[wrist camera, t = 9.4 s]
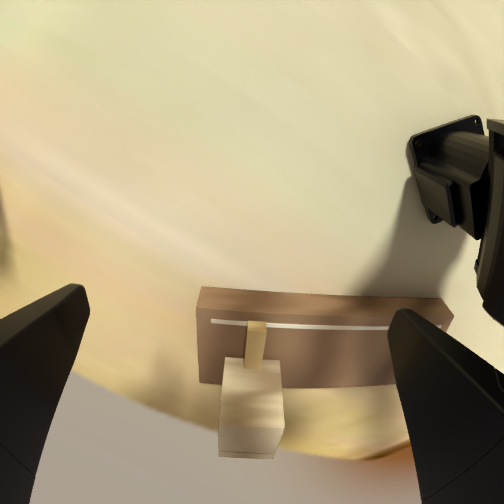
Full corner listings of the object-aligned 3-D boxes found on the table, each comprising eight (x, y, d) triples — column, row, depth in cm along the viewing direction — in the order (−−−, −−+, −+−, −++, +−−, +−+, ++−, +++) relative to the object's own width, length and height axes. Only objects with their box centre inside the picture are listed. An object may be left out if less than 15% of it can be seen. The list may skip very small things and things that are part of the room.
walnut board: (441, 298, 23) (454, 316, 20) (409, 363, 26) (417, 382, 24) (201, 286, 22) (195, 308, 20) (203, 361, 26) (199, 383, 23)
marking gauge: (284, 303, 22) (295, 393, 15) (270, 379, 26) (273, 458, 19) (228, 299, 22) (218, 390, 15) (225, 377, 26) (218, 456, 19)
